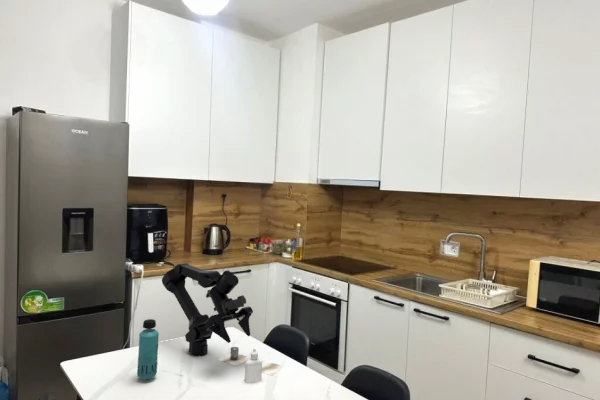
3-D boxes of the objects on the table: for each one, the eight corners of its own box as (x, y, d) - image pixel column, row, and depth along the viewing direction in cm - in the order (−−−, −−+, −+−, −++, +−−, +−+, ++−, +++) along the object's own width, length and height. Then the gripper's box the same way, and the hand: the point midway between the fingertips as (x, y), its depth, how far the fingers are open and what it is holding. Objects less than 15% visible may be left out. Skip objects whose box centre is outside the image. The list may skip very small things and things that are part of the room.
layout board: (212, 365, 150) (212, 362, 150) (230, 354, 161) (230, 351, 161) (268, 381, 140) (268, 378, 140) (284, 368, 151) (284, 365, 151)
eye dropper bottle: (259, 387, 135) (261, 351, 135) (243, 385, 136) (245, 350, 135) (261, 381, 140) (263, 346, 139) (245, 379, 140) (247, 345, 140)
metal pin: (228, 359, 153) (229, 348, 153) (233, 356, 156) (233, 346, 156) (235, 361, 152) (235, 350, 152) (239, 358, 155) (240, 347, 155)
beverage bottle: (137, 385, 132) (140, 324, 132) (135, 376, 138) (138, 318, 137) (158, 381, 135) (161, 322, 135) (155, 373, 141) (158, 316, 140)
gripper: (211, 293, 138) (230, 333, 131) (251, 285, 152) (270, 321, 146) (196, 310, 143) (214, 350, 136) (236, 301, 158) (254, 336, 151)
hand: (239, 338), depth 142 cm, fingers open, 9 cm apart
